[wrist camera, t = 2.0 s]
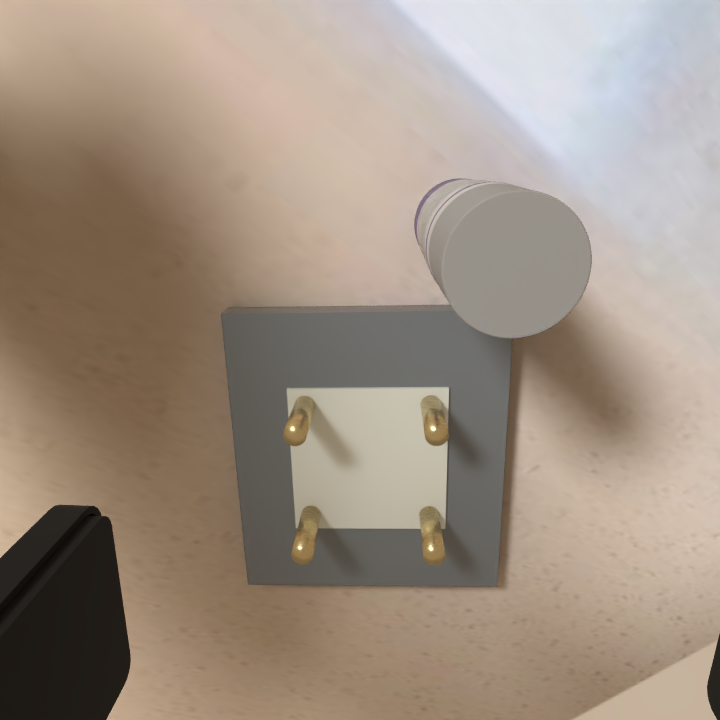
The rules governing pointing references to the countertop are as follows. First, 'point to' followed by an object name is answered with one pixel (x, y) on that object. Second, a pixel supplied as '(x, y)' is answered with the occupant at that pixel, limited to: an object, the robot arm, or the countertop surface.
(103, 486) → the countertop surface
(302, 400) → the standoffs
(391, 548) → the plate
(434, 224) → the container
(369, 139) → the countertop surface
